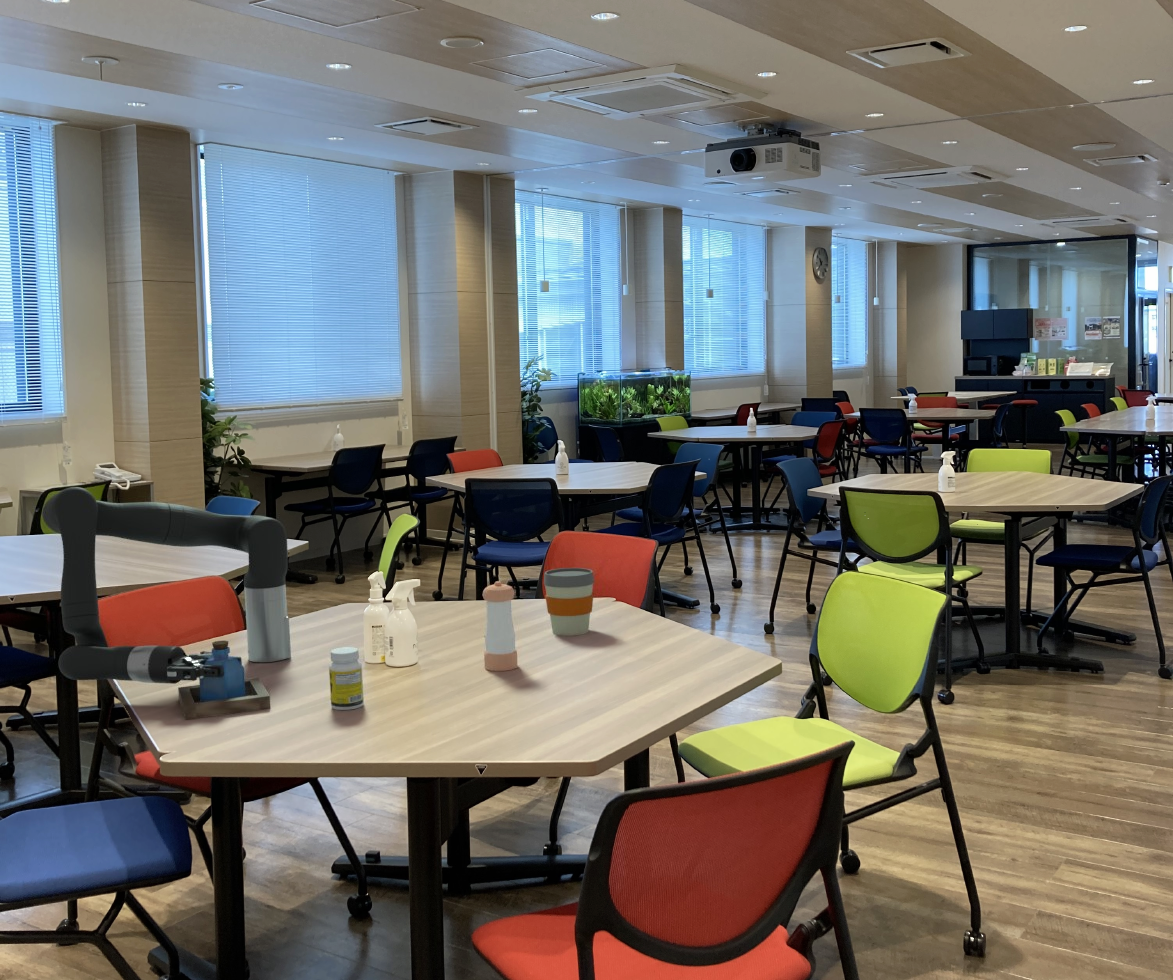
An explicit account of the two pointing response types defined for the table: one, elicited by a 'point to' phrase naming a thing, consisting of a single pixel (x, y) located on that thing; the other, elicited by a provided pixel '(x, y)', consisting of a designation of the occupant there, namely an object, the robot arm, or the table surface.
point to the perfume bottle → (229, 682)
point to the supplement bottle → (346, 679)
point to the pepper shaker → (499, 628)
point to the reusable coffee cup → (569, 599)
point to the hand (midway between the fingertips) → (231, 666)
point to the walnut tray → (223, 701)
